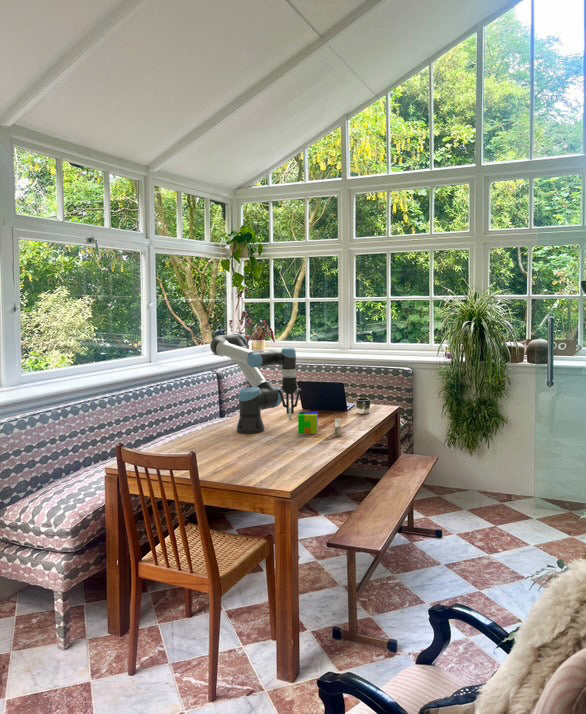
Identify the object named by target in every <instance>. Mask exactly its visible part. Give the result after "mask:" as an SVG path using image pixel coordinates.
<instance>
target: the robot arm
mask: <svg viewBox="0 0 586 714" xmlns="http://www.w3.org/2000/svg"><path fill="white" fill-rule="evenodd" d="M209 347H210V351H211V352H212V353H213V354H214V355H216V356H218V357H227V358H229V359H230V360H232V361H235V363H236V365H237V366H238V367H239V369H240V371H241V373H243V375H244V376H245V378H246V379H247V381H248V383H249V384H250V386H251V387H245V388H243V389H240V391H239V392H238V400H239V401H238V404H239V409H238V410H239V418H238V422H237V424H236V432H237V433H241V434H259V433H262V432H264V431H265V425H264V422H263V418H262V415H261V414H262V413H261V411H262V410H268V409H275V408H277V407H279V406H280V405H281V404H282V407H283V408H286V414H287V415H288V421H293V414H294V412H295V410H294V409H295V408H296V407H297V406H298V401H299V399H300V393H301V392H302V388H299V387H298V384H297V377H296V376H297V352H296V348H294V347H284V348H282V349H281V350H279V351H278V350H269V351H263V352H258V351H255V350H252V349H248V347H249V346H248V340H247V338H246V337H245V336H244V335H243V334H240V333H233V334H219V335H216V336H215V337H213V338H212V340H211V342H210V343H209ZM268 366H269V367H270V366H281V373H282V374H281V376H282V386H281V387H279V386H276V385H275V386H274V385H273V384H272V383H271V381H269V380H266V378H265V376H264V375H263V374H262V372H261V371H260V369H259V368H262V367H268ZM283 392H284V393H285V396H286V397H284V394H283ZM295 392H296V393H297V394H296V395H295V396H296V397H295V401H294V393H295ZM289 395H290V397H289Z"/></svg>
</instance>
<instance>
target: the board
mask: <svg viewBox="0 0 586 714" xmlns="http://www.w3.org/2000/svg"><path fill="white" fill-rule="evenodd" d="M341 422H342V421H341V418H340V417H339V418H338V417H337V418H336V417H335V418H334V437H341V436H342V423H341Z"/></svg>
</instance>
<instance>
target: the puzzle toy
mask: <svg viewBox="0 0 586 714" xmlns="http://www.w3.org/2000/svg"><path fill="white" fill-rule="evenodd" d="M297 417H298V418H297V424H298V430H297V431H298V434H299V435H300V434H301V435H302V434H304V435H305V434H307V435H309V434H310V435H311V434H313V435H316V434H318V432H319V411H299V413H298V415H297Z"/></svg>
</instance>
